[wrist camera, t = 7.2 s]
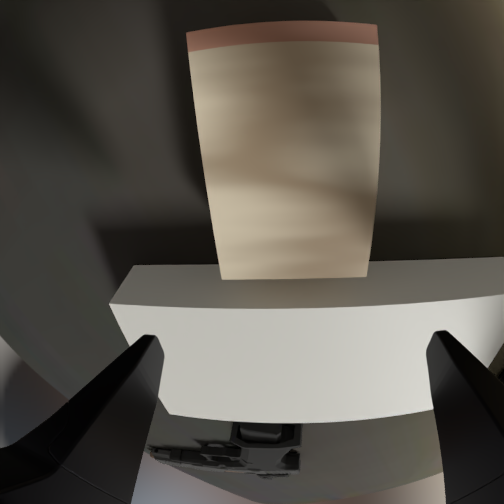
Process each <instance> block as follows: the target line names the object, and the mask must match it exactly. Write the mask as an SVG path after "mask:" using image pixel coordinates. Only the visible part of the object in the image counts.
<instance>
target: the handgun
mask: <svg viewBox="0 0 504 504" xmlns="http://www.w3.org/2000/svg"><path fill="white" fill-rule="evenodd" d="M302 426H303V423H283V424H282V423H257V422H234V423H233V427H232V432H231V437H230V442H232V443H234V444H236V445H238V446H240V447H241V449H233V448H227V447H225V448H218V447H209V446H202V448H201V451H190V450H179V449H171V450H164V449H158V448H153V449H152V451H151V452H150V456H151V457H152V458H155V460H157V461H159V462H160V463H163V464H167V465H168V464H169V465H175V466H180V467H189V468H193V469H199V470H207V471H217V472H226V471H227V472H241V473H245V474H257V476H259V477H260V478H262V479H272V478H273V477H289V475H290V474H299V473H300V463H301V461H300V454H297V453H287V452H289V451H290V450H291V449H292V448H299V447H301V443H302Z"/></svg>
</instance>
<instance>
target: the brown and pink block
mask: <svg viewBox="0 0 504 504" xmlns="http://www.w3.org/2000/svg"><path fill="white" fill-rule="evenodd" d="M186 37H187V46H188V55H189V64H190V72H191V81H192V89H193V97H194V104H195V112H196V119H197V127H198V134H199V141H200V148H201V155H202V162H203V169H204V175H205V182H206V188H207V195H208V201H209V207H210V213H211V219H212V225H213V231H214V237H215V243H216V249H217V255H218V260H219V266H220V272H221V277H222V280H245V279H313V278H351V277H367V271H368V264H369V257H370V250H371V243H372V235H373V227H374V218H375V208H376V198H377V186H378V172H379V154H380V123H381V91H380V61H379V45H378V32H377V25H372V24H363V23H351V22H336V21H275V22H260V23H248V24H239V25H230V26H223V27H216V28H209V29H203V30H198V31H192V32H187V33H186Z"/></svg>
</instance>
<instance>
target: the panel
mask: <svg viewBox="0 0 504 504" xmlns="http://www.w3.org/2000/svg"><path fill="white" fill-rule="evenodd" d="M109 305H110V307H111V309H112V311H113V313H114V315H115V318H116V320H117V322H118V324H119V326H120V328H121V330H122V332H123V334H124V336H125V338H126V340H127V342H128V344H129V345H130V346H131V345H132V344H133V343H134V342H136V341H137V340H138V339H139V338H140V337H141V336H143V335H145V334H149V335H156V336H157V337H158V339H159V341H160V344H161V346H162V348H163V351H164V355H165V358H164V364H163V370H162V376H161V382H160V388H159V394H158V396H159V398H160V400H161V401H162V403H163V404H164V406H165V408H166V409H167V411H168V412H169V414H173V415H180V416H187V417H195V418H204V419H213V420H224V421H238V422H257V423H321V422H339V421H353V420H364V419H373V418H381V417H389V416H396V415H403V414H409V413H415V412H421V411H426V410H431V409H433V404H432V398H431V391H430V382H429V374H428V366H427V359H426V349H427V346H428V344H429V342H430V340H431V337H432V335H433V333H434V332H435V331H440V330H447V331H448V332H449V333H450V334H452V335H453V336H454V337H455V338H456V339H457V340H458V341H459V342H460V343H461V344H462V345H464V346H465V347H466V348H467V349H468V350H469V351H470V352H471V353H472V354H473V355H474V356H475V357H476V358H477V359H478V360H479V361H480V362H482V363H483V364H484V365H485V366H486V367H487V368H488V366H489V365H490V364H491V362H492V360H493V359H494V357H495V356H496V354H497V353H498V351H499V349H500V348H501V346H502V345H503V343H504V257H487V258H462V259H434V260H403V261H369V264H368V271H367V277H351V278H313V279H245V280H222V277H221V272H220V266H219V264H211V265H134V266H133V267H132V269H131V270H130V272H129V273H128V275H127V276H126V278H125V279H124V281H123V283H122V284H121V286H120V287H119V289H118V290H117V292H116V293H115V295H114V296H113V298H112V300H111V301H110V303H109Z"/></svg>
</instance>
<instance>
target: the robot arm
mask: <svg viewBox="0 0 504 504" xmlns="http://www.w3.org/2000/svg"><path fill="white" fill-rule="evenodd" d="M164 358H165V355H164V351H163V348H162V346H161V344H160V341H159V339H158V337H157V336H156V335H149V334H145V335H143V336H141V337H140V338H139V339H138V340H137V341H136V342H134V343H133V344H132V345H131V346H130V347H129V348H128V349H126V350H125V351H124V352H123V353H122V354H121V355H120V356H119V357H117V358H116V359H115V360H114V361H113V362H112V363H111V364H109V365H108V366H107V367H106V368H105V369H104V370H103V371H102V372H100V373H99V374H98V375H97V376H96V377H95V378H94V379H93V380H91V381H90V382H89V383H88V384H87V385H86V386H85V387H84V388H82V389H81V390H80V391H79V392H78V393H77V394H76V395H75V396H73V397H72V398H71V399H70V400H69V401H68V402H67V403H65V405H64V406H62V407H61V408H60V409H59V410H58V411H57V412H55V413H54V414H53V415H52V416H51V417H49V418H48V419H47V420H45V421H44V422H43V423H41V424H40V425H39V426H38V427H36V428H35V429H33V430H32V431H31V432H29V433H28V434H26V435H25V436H24V437H22V438H21V439H20V440H18V441H17V442H15V443H14V444H12V445H10V446H7V447H4V448H0V504H131V500H132V496H133V492H134V487H135V483H136V479H137V475H138V471H139V467H140V463H141V459H142V455H143V451H144V448H145V444H146V440H147V436H148V432H149V429H150V425H151V421H152V418H153V414H154V411H155V407H156V403H157V399H158V394H159V388H160V382H161V376H162V370H163V364H164ZM426 359H427V366H428V374H429V382H430V391H431V398H432V404H433V409H434V414H435V419H436V425H437V430H438V436H439V443H440V449H441V457H442V464H443V473H444V483H445V495H446V504H504V371H503V372H502V374H501V375H500V376H499V378H497V377H496V376H495V375H494V374H493V373H492V372H491V371H490V370H489V369H488V368H487V367H486V366H485V365H484V364H483V363H482V362H480V361H479V360H478V359H477V358H476V357H475V356H474V355H473V354H472V353H471V352H470V351H469V350H468V349H467V348H466V347H465V346H464V345H462V344H461V343H460V342H459V341H458V340H457V339H456V338H455V337H454V336H453V335H452V334H450V333H449V332H448V331H447V330H440V331H435V332H434V333H433V335H432V337H431V340H430V342H429V344H428V346H427V349H426Z"/></svg>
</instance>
